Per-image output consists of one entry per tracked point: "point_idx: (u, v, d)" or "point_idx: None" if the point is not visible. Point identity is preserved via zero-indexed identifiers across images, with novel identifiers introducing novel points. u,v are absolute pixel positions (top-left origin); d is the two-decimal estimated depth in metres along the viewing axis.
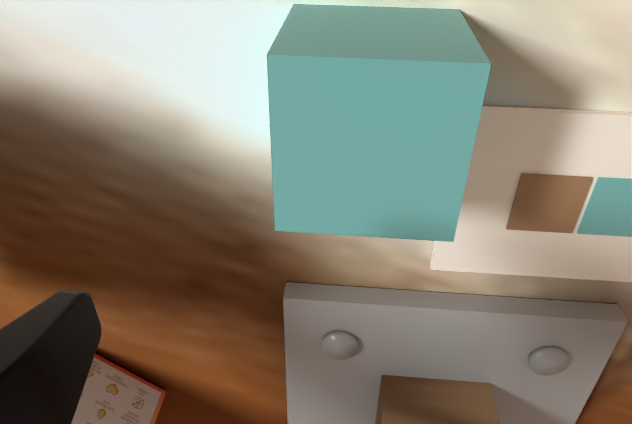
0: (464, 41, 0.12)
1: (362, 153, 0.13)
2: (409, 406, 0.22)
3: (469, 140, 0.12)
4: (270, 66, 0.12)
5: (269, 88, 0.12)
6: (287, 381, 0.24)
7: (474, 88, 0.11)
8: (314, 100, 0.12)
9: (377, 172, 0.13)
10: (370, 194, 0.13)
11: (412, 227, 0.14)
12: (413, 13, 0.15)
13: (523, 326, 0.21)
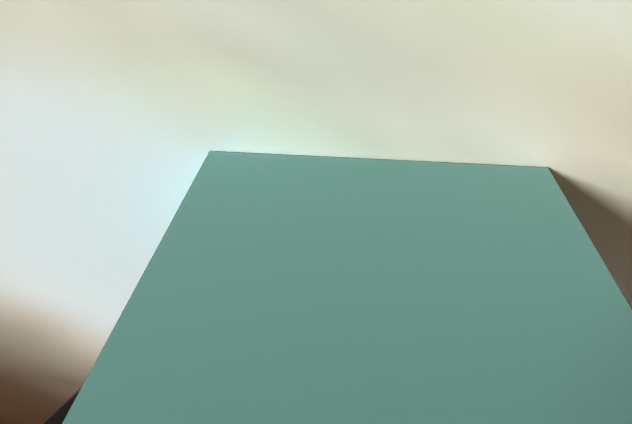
0: (617, 348, 0.05)
1: None
2: None
3: None
4: None
5: None
6: None
7: None
8: None
9: None
10: None
11: None
12: (457, 189, 0.07)
13: None
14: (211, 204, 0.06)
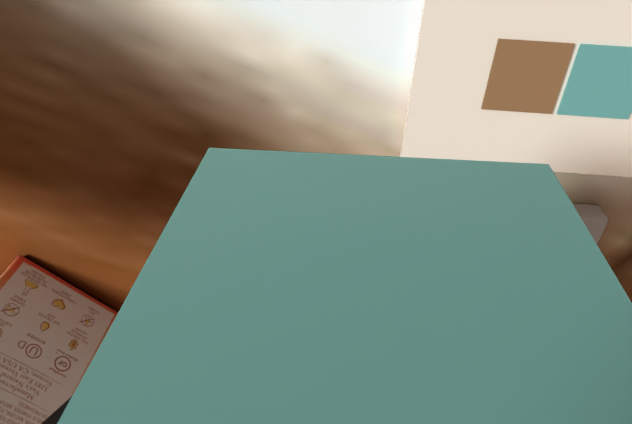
0: (619, 344, 0.05)
1: None
2: None
3: None
4: None
5: None
6: None
7: None
8: None
9: None
10: None
11: None
12: (457, 185, 0.07)
13: None
14: (210, 200, 0.06)
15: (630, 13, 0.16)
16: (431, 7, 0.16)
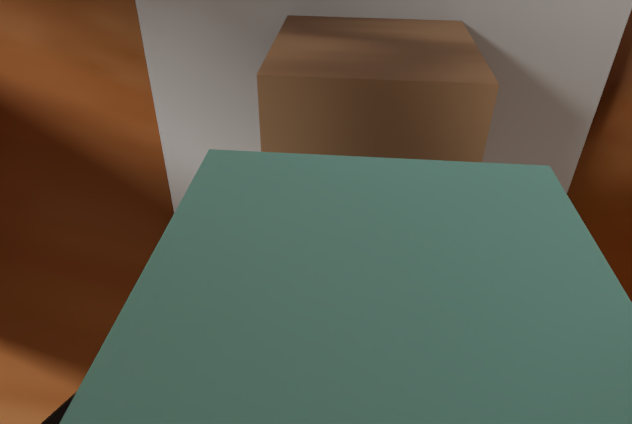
0: (621, 347, 0.05)
1: None
2: (324, 31, 0.13)
3: None
4: None
5: None
6: (145, 46, 0.16)
7: None
8: None
9: None
10: None
11: None
12: (458, 187, 0.07)
13: None
14: (211, 202, 0.06)
15: None
16: None
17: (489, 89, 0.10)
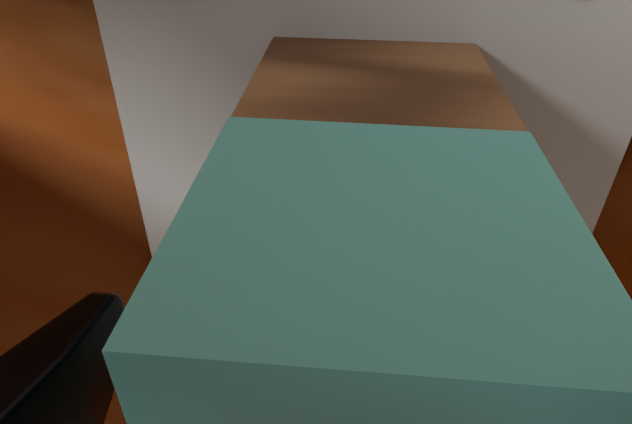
0: (579, 264, 0.06)
1: None
2: (315, 58, 0.11)
3: None
4: (116, 370, 0.05)
5: (123, 405, 0.05)
6: (111, 71, 0.14)
7: None
8: None
9: None
10: None
11: None
12: (449, 148, 0.08)
13: None
14: (233, 158, 0.07)
15: None
16: None
17: None
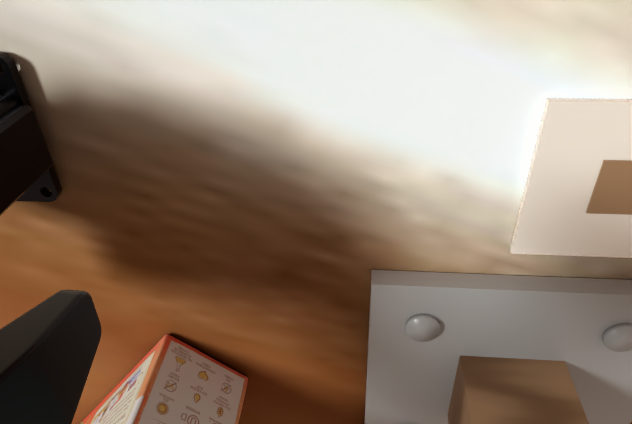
0: None
1: None
2: (490, 383, 0.24)
3: None
4: None
5: None
6: (368, 364, 0.26)
7: None
8: None
9: None
10: None
11: None
12: None
13: (599, 305, 0.22)
14: None
15: None
16: (546, 139, 0.19)
17: None
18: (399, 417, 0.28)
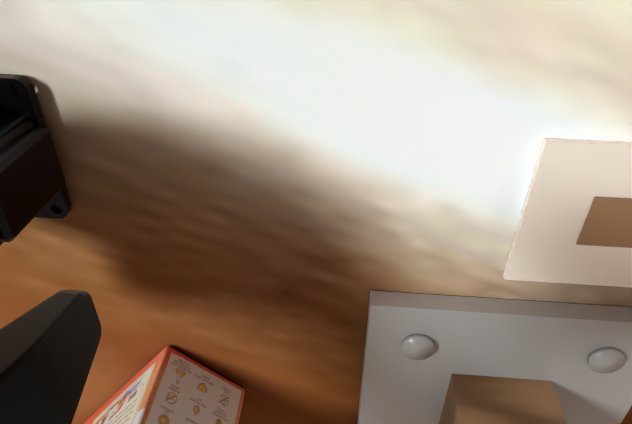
0: None
1: None
2: (480, 401, 0.25)
3: None
4: None
5: None
6: (364, 379, 0.27)
7: None
8: None
9: None
10: None
11: None
12: None
13: (586, 330, 0.23)
14: None
15: None
16: (541, 175, 0.20)
17: None
18: None
